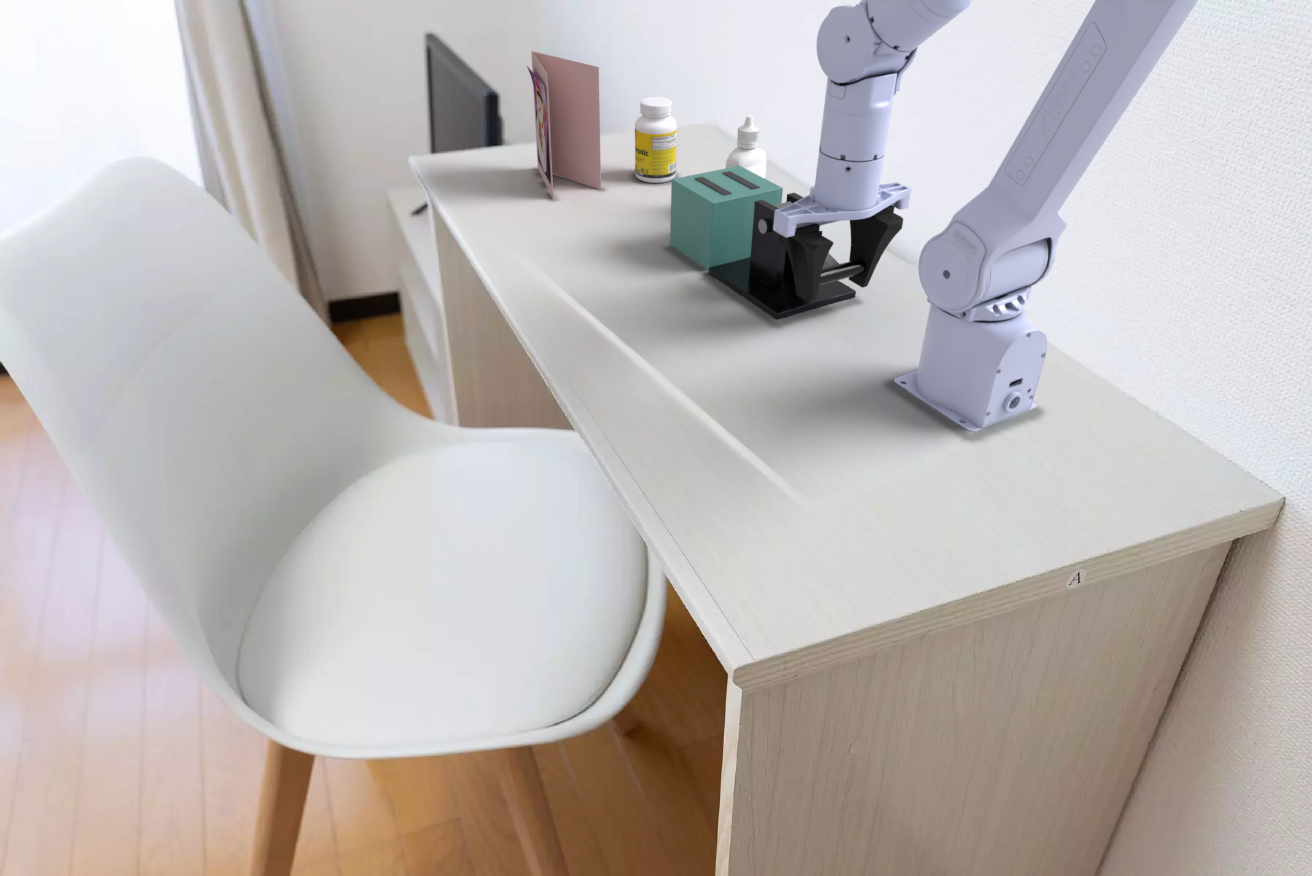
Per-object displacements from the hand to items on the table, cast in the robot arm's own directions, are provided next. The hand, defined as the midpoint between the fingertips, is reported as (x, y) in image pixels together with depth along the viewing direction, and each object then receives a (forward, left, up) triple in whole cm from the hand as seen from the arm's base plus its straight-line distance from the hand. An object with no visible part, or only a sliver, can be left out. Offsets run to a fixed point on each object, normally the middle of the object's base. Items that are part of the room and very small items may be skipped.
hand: (832, 290), depth 93 cm
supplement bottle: (+43, -6, -3) cm, 43 cm away
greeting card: (+47, +5, -3) cm, 47 cm away
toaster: (+18, 0, -3) cm, 19 cm away
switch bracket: (+8, 0, -3) cm, 8 cm away
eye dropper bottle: (+26, -8, -3) cm, 27 cm away
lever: (+4, 0, +2) cm, 5 cm away
